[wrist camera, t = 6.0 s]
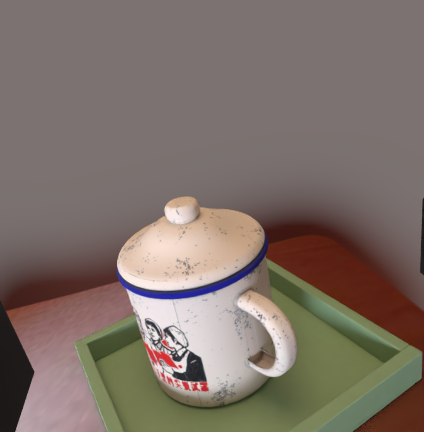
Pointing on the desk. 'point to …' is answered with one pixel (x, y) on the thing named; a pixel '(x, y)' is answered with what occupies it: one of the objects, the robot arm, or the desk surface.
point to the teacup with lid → (206, 304)
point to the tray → (275, 386)
